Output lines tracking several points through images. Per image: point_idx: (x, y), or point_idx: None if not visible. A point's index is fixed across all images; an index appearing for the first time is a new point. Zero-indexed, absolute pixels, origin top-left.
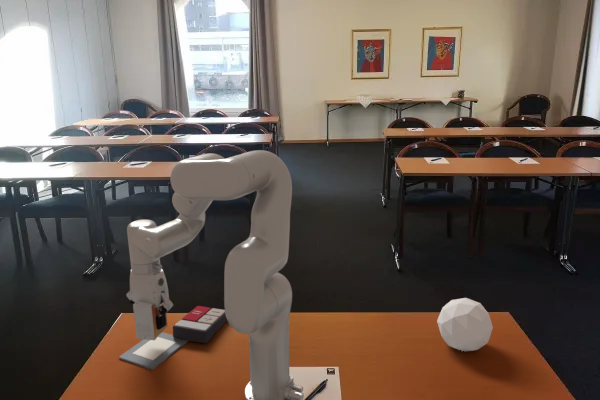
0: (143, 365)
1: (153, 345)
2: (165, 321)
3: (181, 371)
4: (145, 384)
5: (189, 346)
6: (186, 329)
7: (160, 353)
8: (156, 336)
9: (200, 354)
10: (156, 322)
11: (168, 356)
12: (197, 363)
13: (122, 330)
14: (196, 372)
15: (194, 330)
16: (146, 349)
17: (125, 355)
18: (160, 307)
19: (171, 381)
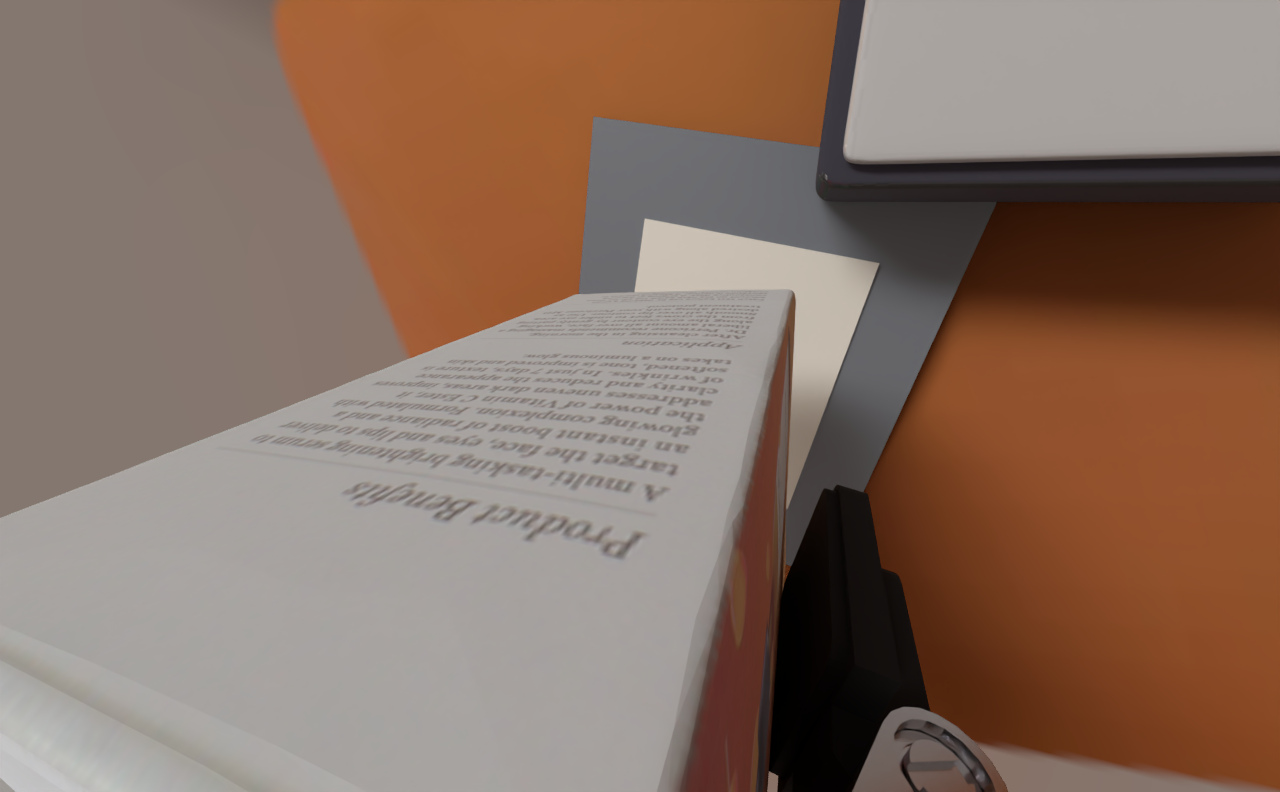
0: None
1: None
2: (898, 607)
3: (1062, 584)
4: None
5: (1044, 260)
6: (1068, 186)
7: (807, 438)
8: (785, 551)
9: (1230, 368)
10: (778, 678)
11: (882, 444)
12: (1214, 498)
13: (377, 188)
14: (1225, 601)
15: (1250, 183)
16: None
17: None
18: (763, 756)
19: (1009, 665)
